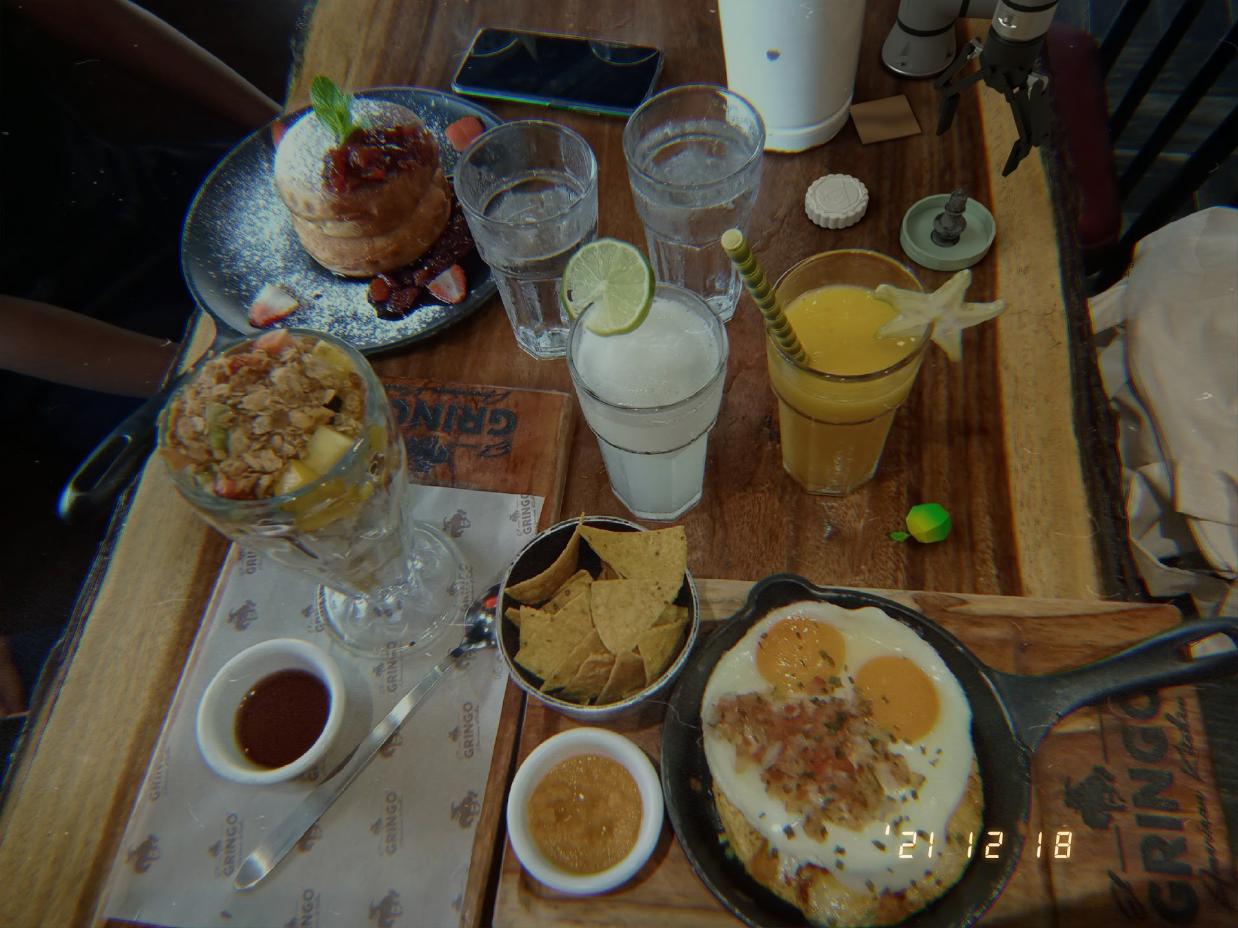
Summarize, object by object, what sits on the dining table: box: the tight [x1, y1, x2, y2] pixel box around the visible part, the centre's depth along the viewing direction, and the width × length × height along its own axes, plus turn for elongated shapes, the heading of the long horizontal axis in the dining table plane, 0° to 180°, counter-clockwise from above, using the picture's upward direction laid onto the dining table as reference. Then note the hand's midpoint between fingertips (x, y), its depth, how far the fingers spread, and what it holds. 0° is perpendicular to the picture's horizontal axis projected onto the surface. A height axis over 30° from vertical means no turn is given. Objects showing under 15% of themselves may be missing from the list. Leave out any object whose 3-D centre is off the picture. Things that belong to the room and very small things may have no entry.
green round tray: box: [899, 193, 997, 272], centre depth 138 cm, size 16×16×3 cm
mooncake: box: [804, 173, 869, 230], centre depth 144 cm, size 12×12×4 cm
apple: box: [889, 502, 952, 544], centre depth 112 cm, size 7×6×9 cm
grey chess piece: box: [930, 187, 969, 248], centre depth 133 cm, size 6×6×12 cm
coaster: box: [849, 93, 922, 146], centre depth 154 cm, size 12×12×1 cm
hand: (975, 151), depth 121 cm, fingers open, 13 cm apart
